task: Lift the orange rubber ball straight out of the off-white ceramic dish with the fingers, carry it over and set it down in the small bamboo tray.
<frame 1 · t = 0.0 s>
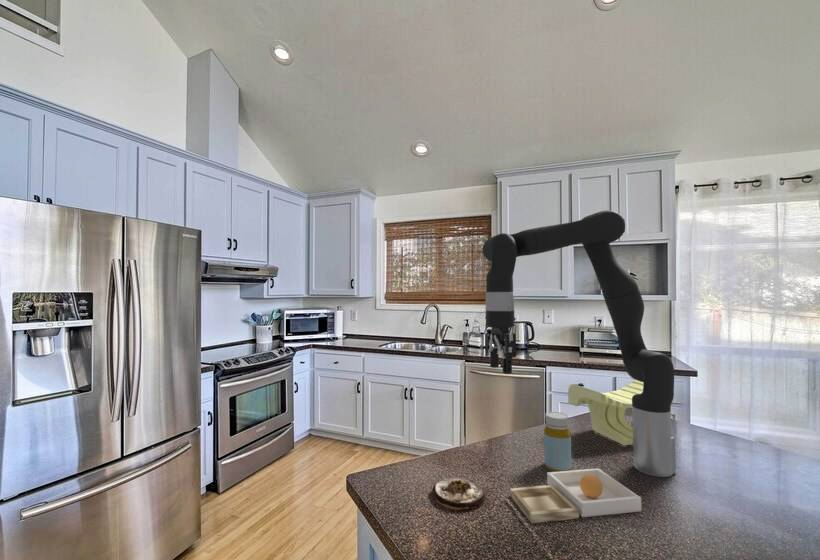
hand: (500, 370, 99), 29 cm above the countertop, tool pointing down, fingers open, 8 cm apart
tray: (542, 508, 86), on the countertop
sushi roll: (459, 500, 91), on the countertop
pale yellow ridged piece: (620, 436, 131), on the countertop
bottle: (557, 469, 106), on the countertop
dish: (591, 499, 90), on the countertop
ball: (591, 496, 90), point 1 cm above the countertop, touching dish
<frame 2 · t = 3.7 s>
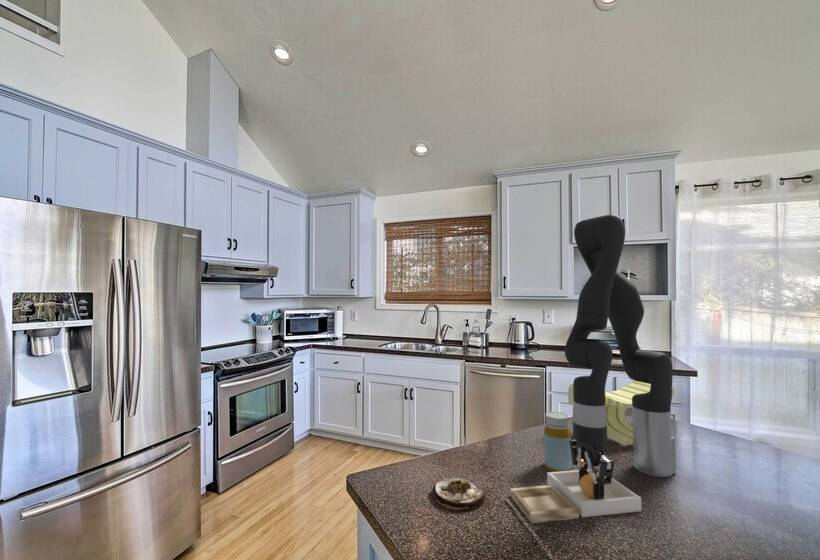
hand: (591, 492, 90), 2 cm above the countertop, tool pointing down, fingers closed on ball, 5 cm apart
ball: (591, 496, 90), point 1 cm above the countertop, touching dish, gripper
everything else where it was.
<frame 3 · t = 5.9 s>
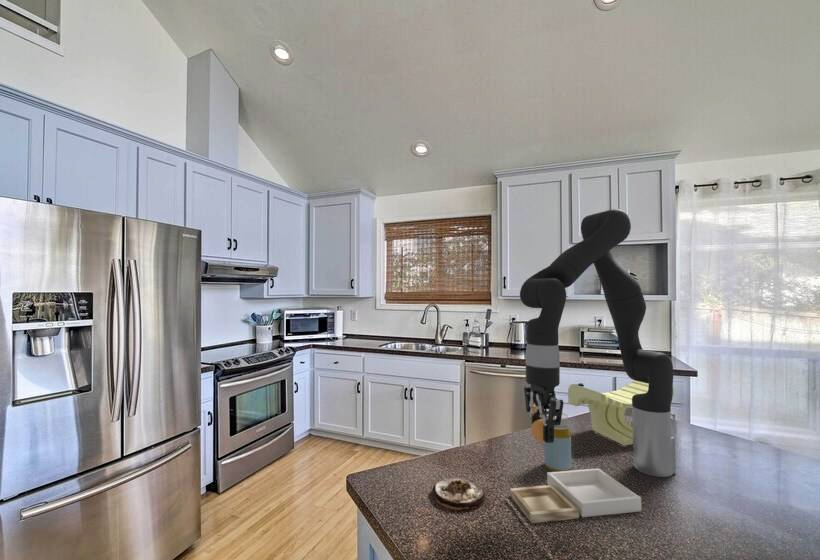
hand: (542, 437, 86), 16 cm above the countertop, tool pointing down, fingers closed on ball, 5 cm apart
ball: (542, 441, 86), point 15 cm above the countertop, touching gripper
everything else where it was.
when the fingers open (3 cm above the countertop, at t = 8.2 s): ball drops 1 cm, resting on tray.
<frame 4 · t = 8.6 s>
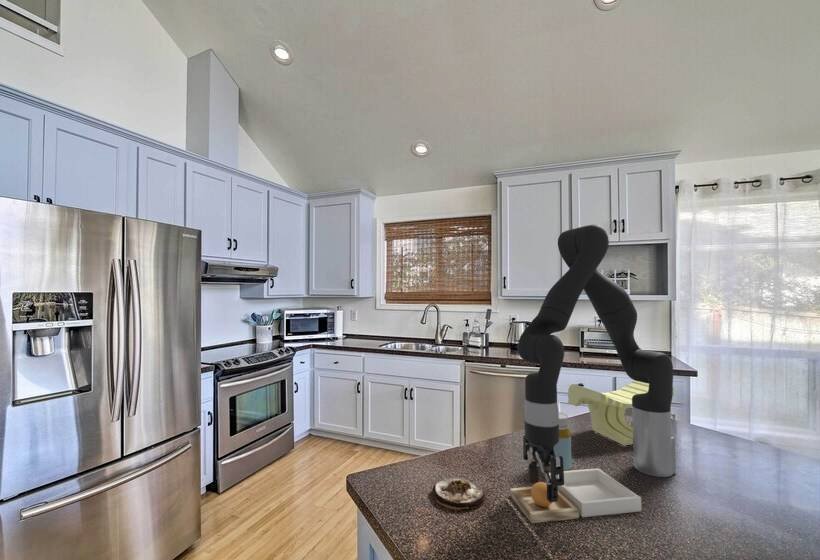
hand: (542, 491, 86), 4 cm above the countertop, tool pointing down, fingers open, 8 cm apart
ball: (542, 505, 86), point 1 cm above the countertop, touching tray
everything else where it was.
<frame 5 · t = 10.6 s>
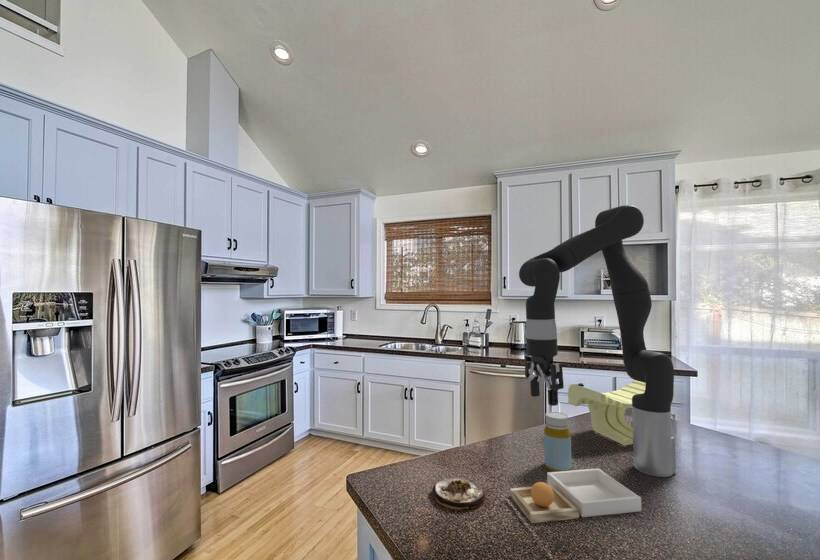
hand: (543, 400, 95), 22 cm above the countertop, tool pointing down, fingers open, 8 cm apart
nothing on the countertop moved.
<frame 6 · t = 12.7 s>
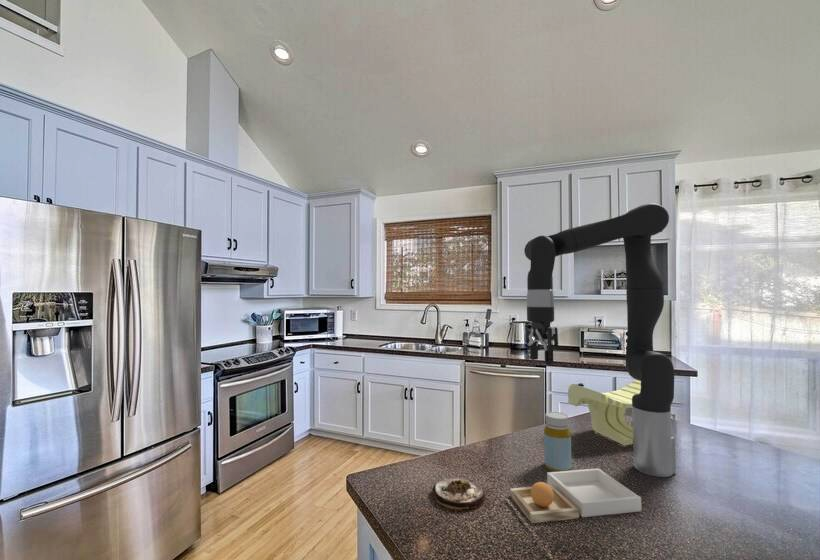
hand: (541, 361, 107), 30 cm above the countertop, tool pointing down, fingers open, 8 cm apart
nothing on the countertop moved.
at the end: ball inside the target area on the tray (0.0 cm from its centre), point 0.8 cm above the tray's base; the gripper is holding nothing; ball touching tray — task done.
